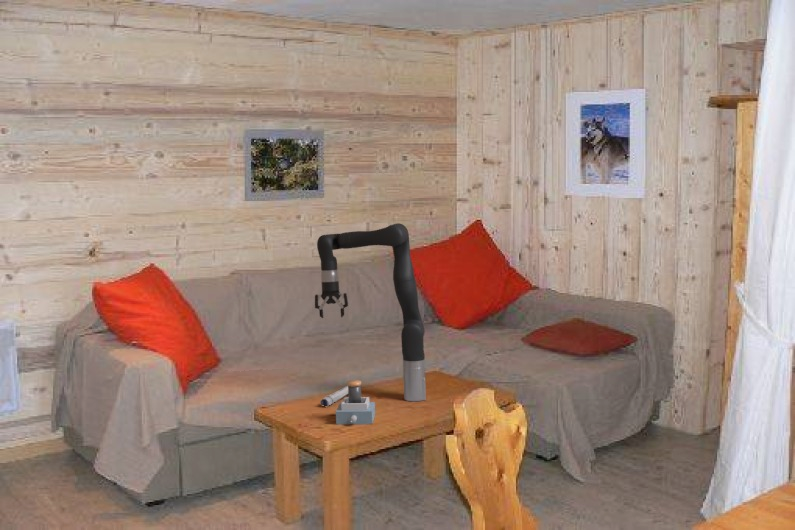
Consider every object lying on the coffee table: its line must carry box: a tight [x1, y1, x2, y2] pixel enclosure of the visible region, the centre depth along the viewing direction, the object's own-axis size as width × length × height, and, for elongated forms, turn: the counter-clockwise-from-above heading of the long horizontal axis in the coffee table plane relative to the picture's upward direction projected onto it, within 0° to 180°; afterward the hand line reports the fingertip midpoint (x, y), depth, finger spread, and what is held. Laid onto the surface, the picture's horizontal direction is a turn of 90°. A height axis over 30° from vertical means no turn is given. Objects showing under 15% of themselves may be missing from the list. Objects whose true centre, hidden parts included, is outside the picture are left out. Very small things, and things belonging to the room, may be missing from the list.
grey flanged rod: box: [320, 385, 348, 407], centre depth 382 cm, size 5×7×25 cm
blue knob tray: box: [335, 396, 376, 425], centre depth 351 cm, size 14×17×8 cm
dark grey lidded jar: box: [347, 379, 362, 403], centre depth 351 cm, size 5×5×10 cm
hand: (332, 317), depth 387 cm, fingers open, 8 cm apart
